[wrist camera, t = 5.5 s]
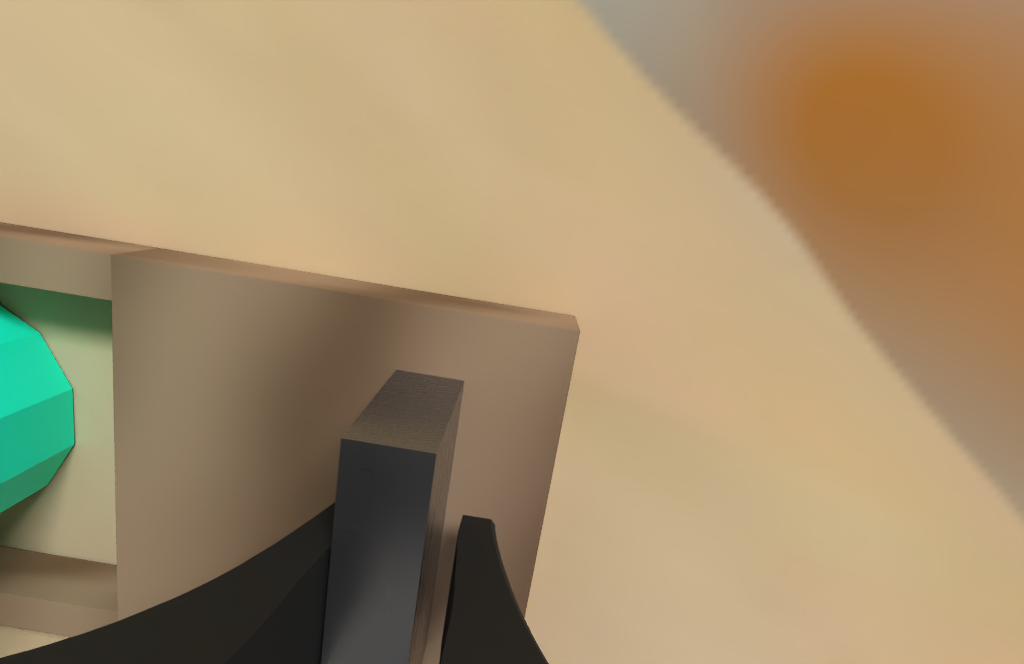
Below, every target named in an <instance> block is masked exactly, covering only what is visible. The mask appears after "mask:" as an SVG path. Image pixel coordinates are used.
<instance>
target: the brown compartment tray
mask: <svg viewBox="0 0 1024 664" xmlns="http://www.w3.org/2000/svg"><path fill="white" fill-rule="evenodd" d="M0 282H1V283H7V284H13V285H19V286H25V287H31V288H37V289H43V290H49V291H56V292H62V293H68V294H74V295H80V296H86V297H92V298H98V299H104V300H111V301H112V339H113V390H114V442H115V493H116V544H117V565H111V564H105V563H99V562H93V561H87V560H81V559H75V558H68V557H62V556H56V555H50V554H44V553H38V552H32V551H26V550H20V549H14V548H8V547H2V546H0V625H2V626H8V627H14V628H20V629H26V630H32V631H38V632H44V633H50V634H56V635H62V636H68V637H74V636H77V635H80V634H83V633H86V632H89V631H92V630H94V629H97V628H100V627H103V626H106V625H109V624H111V623H114V622H117V621H119V620H122V619H125V618H127V617H130V616H132V615H134V614H137V613H139V612H142V611H144V610H146V609H149V608H151V607H154V606H156V605H158V604H161V603H163V602H166V601H168V600H171V599H173V598H175V597H178V596H180V595H182V594H184V593H186V592H188V591H190V590H192V589H194V588H196V587H199V586H201V585H203V584H205V583H207V582H209V581H211V580H213V579H215V578H217V577H218V576H220V575H222V574H224V573H226V572H228V571H230V570H232V569H233V568H235V567H237V566H239V565H240V564H242V563H244V562H245V561H247V560H249V559H250V558H252V557H254V556H255V555H257V554H259V553H260V552H262V551H263V550H265V549H267V548H268V547H270V546H272V545H273V544H275V543H276V542H278V541H279V540H281V539H282V538H284V537H285V536H287V535H288V534H290V533H291V532H293V531H294V530H296V529H297V528H299V527H300V526H302V525H303V524H305V523H306V522H307V521H309V520H310V519H312V518H313V517H315V516H316V515H317V514H319V513H320V512H322V511H323V510H324V509H326V508H327V507H329V506H330V505H332V504H333V503H334V502H335V511H334V522H333V533H332V544H331V556H330V567H329V578H328V589H327V600H326V612H325V623H324V634H323V645H322V656H321V664H439V661H440V652H441V642H442V635H443V629H444V622H445V615H446V609H447V602H448V595H449V589H450V582H451V575H452V569H453V562H454V555H455V549H456V542H457V535H458V530H459V526H460V523H461V519H462V516H463V515H468V516H474V517H480V518H487V519H491V520H492V521H493V523H494V524H495V531H496V538H497V543H498V547H499V551H500V555H501V559H502V562H503V565H504V569H505V571H506V574H507V577H508V580H509V583H510V586H511V588H512V591H513V593H514V596H515V598H516V601H517V603H518V606H519V608H520V610H521V612H522V615H523V617H525V612H526V607H527V602H528V597H529V592H530V586H531V581H532V576H533V571H534V566H535V561H536V555H537V550H538V545H539V540H540V535H541V530H542V525H543V519H544V514H545V509H546V504H547V499H548V494H549V488H550V483H551V478H552V473H553V468H554V463H555V457H556V452H557V447H558V442H559V437H560V432H561V427H562V421H563V416H564V411H565V406H566V401H567V396H568V390H569V385H570V380H571V375H572V370H573V365H574V359H575V354H576V349H577V344H578V339H579V334H580V330H579V327H578V324H577V321H576V318H575V316H570V315H564V314H558V313H552V312H546V311H540V310H534V309H528V308H522V307H515V306H509V305H503V304H497V303H491V302H485V301H479V300H473V299H466V298H460V297H454V296H448V295H442V294H436V293H430V292H424V291H417V290H411V289H405V288H399V287H393V286H387V285H381V284H375V283H369V282H362V281H356V280H350V279H344V278H338V277H332V276H326V275H320V274H313V273H307V272H301V271H295V270H289V269H283V268H277V267H271V266H264V265H258V264H252V263H246V262H240V261H234V260H228V259H222V258H216V257H209V256H203V255H197V254H191V253H185V252H179V251H173V250H167V249H160V248H154V247H148V246H142V245H136V244H130V243H124V242H118V241H111V240H105V239H99V238H93V237H87V236H81V235H75V234H69V233H63V232H56V231H50V230H44V229H38V228H32V227H26V226H20V225H14V224H7V223H1V222H0Z"/></svg>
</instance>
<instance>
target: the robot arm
mask: <svg viewBox="0 0 1024 664" xmlns="http://www.w3.org/2000/svg"><path fill="white" fill-rule="evenodd" d="M334 511H335V502H334V503H333V504H332V505H330V506H329V507H327V508H326V509H324V510H323V511H322V512H320V513H319V514H317V515H316V516H315V517H313V518H312V519H310V520H309V521H307V522H306V523H305V524H303V525H302V526H300V527H299V528H297V529H296V530H294V531H293V532H291V533H290V534H288V535H287V536H285V537H284V538H282V539H281V540H279V541H278V542H276V543H275V544H273V545H272V546H270V547H268V548H267V549H265V550H263V551H262V552H260V553H259V554H257V555H255V556H254V557H252V558H250V559H249V560H247V561H245V562H244V563H242V564H240V565H239V566H237V567H235V568H233V569H232V570H230V571H228V572H226V573H224V574H222V575H220V576H218V577H217V578H215V579H213V580H211V581H209V582H207V583H205V584H203V585H201V586H199V587H196V588H194V589H192V590H190V591H188V592H186V593H184V594H182V595H180V596H178V597H175V598H173V599H171V600H168V601H166V602H163V603H161V604H158V605H156V606H154V607H151V608H149V609H146V610H144V611H142V612H139V613H137V614H134V615H132V616H130V617H127V618H125V619H122V620H119V621H117V622H114V623H111V624H109V625H106V626H103V627H100V628H97V629H94V630H92V631H89V632H86V633H83V634H80V635H77V636H74V637H71V638H68V639H64V640H61V641H58V642H55V643H52V644H49V645H45V646H42V647H39V648H35V649H32V650H29V651H25V652H21V653H17V654H14V655H10V656H6V657H2V658H0V664H321V656H322V645H323V634H324V623H325V612H326V600H327V589H328V578H329V567H330V556H331V544H332V533H333V522H334ZM439 664H549V663H548V662H547V660H546V659H545V657H544V655H543V653H542V652H541V650H540V648H539V646H538V644H537V643H536V641H535V639H534V637H533V635H532V633H531V631H530V629H529V627H528V625H527V623H526V621H525V619H524V617H523V615H522V612H521V610H520V608H519V606H518V603H517V601H516V598H515V596H514V593H513V591H512V588H511V586H510V583H509V580H508V577H507V574H506V571H505V569H504V565H503V562H502V559H501V555H500V551H499V547H498V543H497V538H496V531H495V524H494V523H493V521H492V520H491V519H487V518H480V517H474V516H468V515H463V516H462V519H461V523H460V526H459V530H458V535H457V542H456V549H455V555H454V562H453V569H452V575H451V582H450V589H449V595H448V602H447V609H446V615H445V622H444V629H443V635H442V642H441V652H440V661H439Z"/></svg>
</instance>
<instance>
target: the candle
mask: <svg viewBox="0 0 1024 664" xmlns="http://www.w3.org/2000/svg"><path fill="white" fill-rule="evenodd" d="M74 444H75V441H74V414H73V388H72V387H71V385H70V383H69V382H68V380H67V378H66V377H65V375H64V373H63V371H62V370H61V368H60V366H59V365H58V363H57V361H56V360H55V358H54V356H53V354H52V353H51V351H50V349H49V348H48V346H47V344H46V343H45V341H44V339H43V337H42V336H41V334H40V333H39V332H38V331H36V330H35V329H34V328H32V327H31V326H29V325H28V324H26V323H25V322H24V321H22V320H21V319H19V318H18V317H17V316H15V315H14V314H12V313H11V312H9V311H8V310H7V309H5V308H4V307H2V306H1V305H0V513H1V512H3V511H5V510H6V509H8V508H10V507H11V506H13V505H15V504H16V503H18V502H20V501H22V500H23V499H25V498H27V497H28V496H30V495H32V494H33V493H35V492H37V491H38V490H40V489H42V488H44V487H45V486H47V485H48V484H49V482H50V481H51V479H52V478H53V476H54V475H55V473H56V472H57V470H58V469H59V467H60V465H61V464H62V462H63V461H64V459H65V458H66V456H67V455H68V453H69V452H70V450H71V449H72V447H73V446H74Z"/></svg>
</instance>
